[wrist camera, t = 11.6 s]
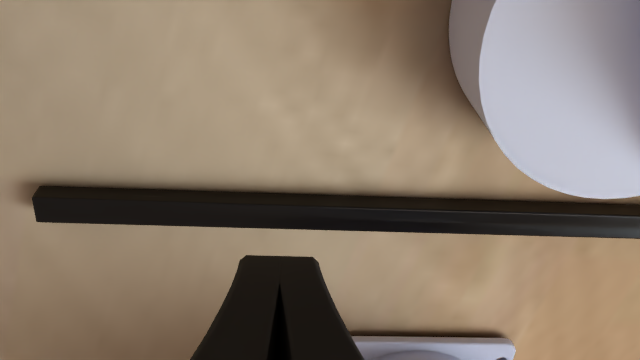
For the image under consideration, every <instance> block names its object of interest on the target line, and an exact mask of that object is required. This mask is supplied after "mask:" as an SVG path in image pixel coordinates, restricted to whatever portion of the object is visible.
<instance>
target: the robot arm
mask: <svg viewBox="0 0 640 360" xmlns="http://www.w3.org/2000/svg"><path fill="white" fill-rule="evenodd" d="M514 355H515V347H514V345H513V343H512V341H511V340H509V339H507V338H467V337H396V336H351V335H350V333H349V331H348V330H347V328H346V326H345V324H344V322H343V320H342V319H341V317H340V315H339V313H338V311H337V309H336V306H335V304H334V302H333V300H332V298H331V296H330V293H329V291H328V289H327V286H326V284H325V281H324V279H323V276H322V273H321V270H320V267H319V263H318V262H317V261H316V260H315V259H314V258H313V257H292V256H251V255H246V256H245V257H244V258H242V259H241V260H240V262H239V266H238V269H237V272H236V275H235V278H234V280H233V283H232V285H231V287H230V289H229V292H228V294H227V296H226V298H225V300H224V302H223V304H222V306H221V308H220V310H219V312H218V314H217V315H216V317H215V319H214V321H213V323H212V324H211V326H210V328H209V330H208V332H207V334H206V335H205V337H204V339H203V340H202V342H201V343H200V345H199V347H198V348H197V350H196V351H195V353H194V354H193V356H192V357H191V359H190V360H513V358H514ZM501 357H502V358H501ZM498 358H500V359H498Z"/></svg>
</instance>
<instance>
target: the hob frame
mask: <svg viewBox="0 0 640 360" xmlns="http://www.w3.org/2000/svg"><path fill="white" fill-rule="evenodd" d="M32 201H33V206H34V211H35V216H36V221H37V222H52V223H89V224H125V225H161V226H198V227H234V228H270V229H307V230H343V231H380V232H416V233H452V234H489V235H525V236H562V237H598V238H634V239H640V205H625V204H594V203H563V202H531V201H500V200H469V199H438V198H406V197H375V196H344V195H312V194H281V193H250V192H218V191H187V190H156V189H124V188H93V187H62V186H39V188H38V189H37V191H36V192H35V194H34V195H33V197H32Z"/></svg>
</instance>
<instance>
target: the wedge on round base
mask: <svg viewBox="0 0 640 360" xmlns="http://www.w3.org/2000/svg"><path fill="white" fill-rule="evenodd" d="M449 46H450V54H451V60H452V64H453V67H454V71H455V74H456V77H457V79H458V81H459V84H460V86H461V88H462V90H463V92H464V94H465V95H466V97H467V98H468V100H469V101H470V103H471V104H472V106H473V107H474V109H475V111H476V112H477V114H478V115H479V117H480V118H481V120H482V121H483V123H484V124H485V126H486V127H487V129H488V130H489V132H490V133H491V135H492V136H493V138H494V139H495V141H496V142H497V144H498V145H499V147H500V148H501V150H502V151H503V153H504V154H505V155H506V157H507V158H508V159H509V160H510V161H511V162H512V163H513V164H514V165H515V166H516V167H517V168H518V169H519V170H521V171H522V172H523V173H525V174H526V175H527V176H529V177H530V178H531V179H533V180H535V181H537V182H539V183H541V184H543V185H544V186H546V187H548V188H551V189H554V190H557V191H559V192H562V193H565V194H569V195H574V196H579V197H584V198H597V199H615V198H629V197H635V196H640V0H452V4H451V11H450V18H449Z"/></svg>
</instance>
